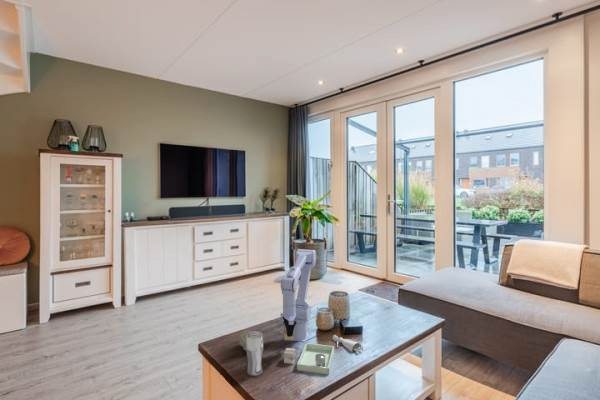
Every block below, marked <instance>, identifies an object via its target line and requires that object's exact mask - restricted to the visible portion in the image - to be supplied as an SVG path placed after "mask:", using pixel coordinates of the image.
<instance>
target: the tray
mask: <svg viewBox="0 0 600 400" xmlns="http://www.w3.org/2000/svg"><path fill="white" fill-rule="evenodd" d="M317 354H324V355H325V367H321V366H315V356H316V355H317ZM334 355H335V346H334V345H325V344H319V343H312V342H311V343H309V342H305V345H304V347H303V349H302V351H301V354H300V356H299V358H298V360H297V363H296V371H300V372H306V373H314V374H322V375H328V376H329V375H330V372H331V371H330V370H331V368H332V364H333V359H334Z"/></svg>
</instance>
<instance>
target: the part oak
mask: <svg viewBox="0 0 600 400" xmlns="http://www.w3.org/2000/svg"><path fill="white" fill-rule="evenodd" d="M283 339H284V341H290V340H293V335H292V336H291V337H288V336H287V332H286V327H285V324H283Z"/></svg>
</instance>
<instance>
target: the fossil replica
mask: <svg viewBox="0 0 600 400" xmlns="http://www.w3.org/2000/svg"><path fill="white" fill-rule="evenodd" d="M250 332H254V331H252V330H249V329H245V330H244V331H243V332H242V333H241V334H240V336H239V345H240V347H242V348H243V350H244V351H245V352H246V338H247V334H248V333H250Z"/></svg>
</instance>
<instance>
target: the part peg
mask: <svg viewBox="0 0 600 400" xmlns="http://www.w3.org/2000/svg"><path fill="white" fill-rule="evenodd" d="M315 366H321V367H325V355H324V354H317V355H316V356H315Z"/></svg>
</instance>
